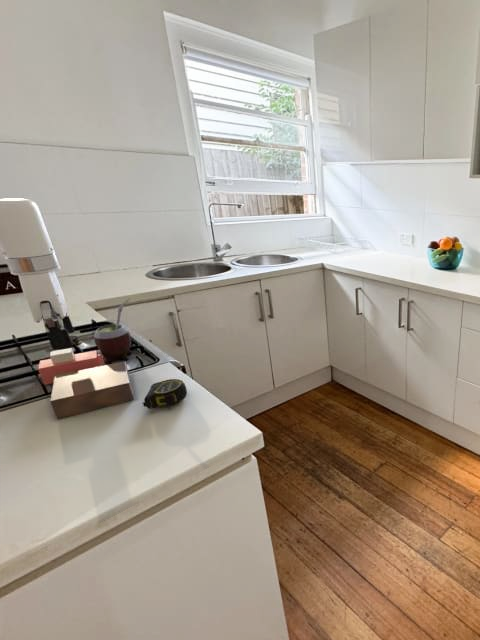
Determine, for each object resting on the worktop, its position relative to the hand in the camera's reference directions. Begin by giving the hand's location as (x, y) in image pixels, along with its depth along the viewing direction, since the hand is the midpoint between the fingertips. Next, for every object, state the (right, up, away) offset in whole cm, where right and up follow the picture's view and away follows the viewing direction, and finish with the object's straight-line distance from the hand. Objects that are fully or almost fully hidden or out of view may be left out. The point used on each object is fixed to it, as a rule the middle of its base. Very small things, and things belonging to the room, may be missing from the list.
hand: (64, 340), depth 84 cm
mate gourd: (+3, -4, +12) cm, 13 cm away
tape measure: (+26, -13, -6) cm, 30 cm away
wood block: (+11, -12, -5) cm, 17 cm away
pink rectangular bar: (-1, -8, +3) cm, 9 cm away
